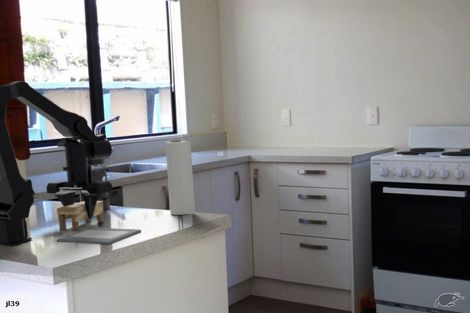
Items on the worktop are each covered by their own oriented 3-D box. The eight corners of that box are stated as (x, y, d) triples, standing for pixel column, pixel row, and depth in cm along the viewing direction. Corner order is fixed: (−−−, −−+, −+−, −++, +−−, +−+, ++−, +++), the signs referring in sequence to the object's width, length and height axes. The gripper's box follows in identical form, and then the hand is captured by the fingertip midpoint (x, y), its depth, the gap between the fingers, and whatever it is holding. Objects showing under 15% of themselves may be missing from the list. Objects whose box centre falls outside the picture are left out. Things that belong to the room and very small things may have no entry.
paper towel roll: (167, 213, 174) (162, 141, 172) (187, 210, 176) (182, 139, 175) (175, 217, 168) (170, 142, 166) (195, 214, 170) (190, 140, 168)
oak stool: (76, 231, 156) (74, 208, 156) (58, 230, 159) (56, 208, 158) (104, 221, 167) (102, 200, 166) (87, 221, 169) (86, 200, 169)
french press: (76, 209, 191) (70, 139, 189) (104, 205, 196) (99, 136, 193) (86, 214, 181) (79, 140, 179) (115, 210, 185) (110, 137, 183)
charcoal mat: (109, 244, 138) (109, 241, 138) (57, 241, 145) (56, 238, 145) (141, 231, 150) (140, 229, 150) (91, 229, 157) (91, 227, 157)
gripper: (122, 158, 164) (126, 213, 166) (70, 159, 172) (74, 211, 174) (96, 163, 154) (101, 221, 156) (42, 163, 162) (47, 219, 164)
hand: (81, 218), depth 163 cm, fingers closed on oak stool, 6 cm apart
